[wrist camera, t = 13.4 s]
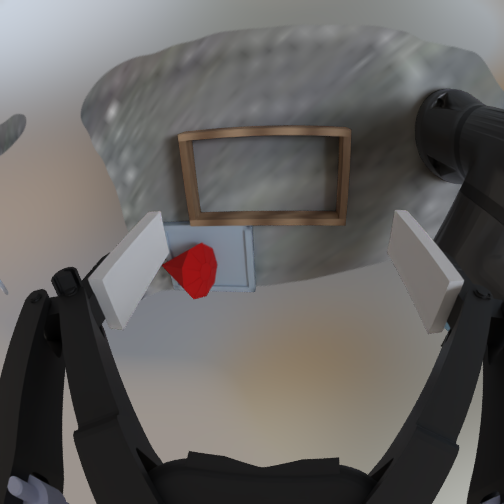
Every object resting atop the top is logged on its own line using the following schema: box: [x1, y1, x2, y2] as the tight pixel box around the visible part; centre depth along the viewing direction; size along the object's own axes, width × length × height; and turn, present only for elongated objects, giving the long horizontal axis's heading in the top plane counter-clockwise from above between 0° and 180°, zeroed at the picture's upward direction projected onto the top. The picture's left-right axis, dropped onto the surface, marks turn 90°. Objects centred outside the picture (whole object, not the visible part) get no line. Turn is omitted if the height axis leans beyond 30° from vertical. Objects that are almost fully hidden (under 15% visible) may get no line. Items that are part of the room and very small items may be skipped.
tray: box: [163, 221, 256, 292], centre depth 48 cm, size 15×13×2 cm
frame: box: [178, 125, 351, 226], centre depth 39 cm, size 23×14×3 cm, turn 93°
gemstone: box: [162, 243, 218, 299], centre depth 46 cm, size 9×9×10 cm
